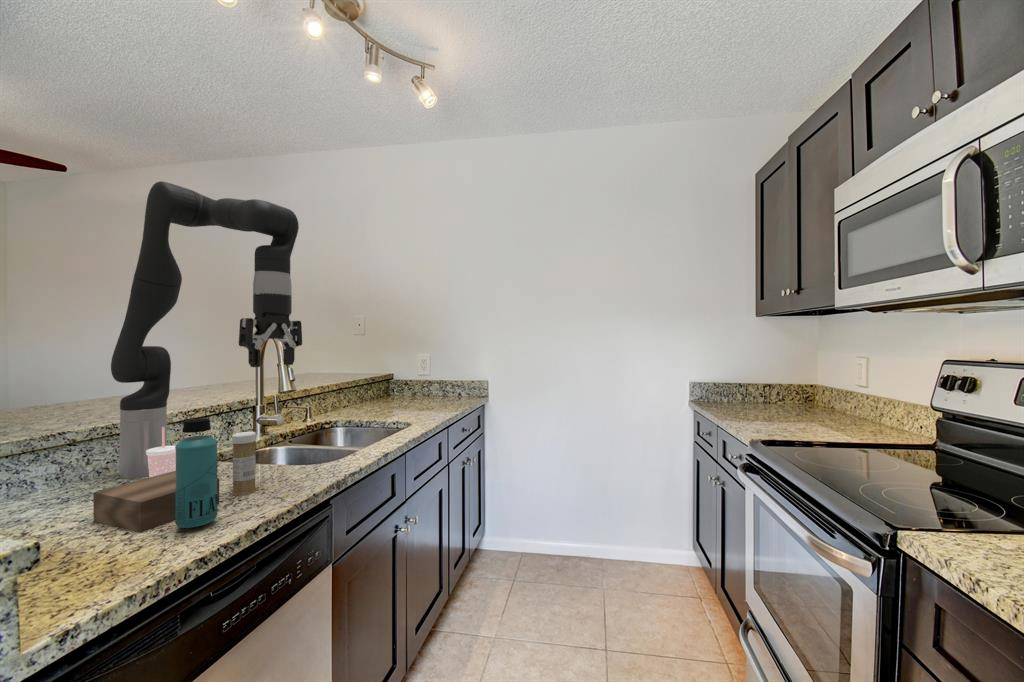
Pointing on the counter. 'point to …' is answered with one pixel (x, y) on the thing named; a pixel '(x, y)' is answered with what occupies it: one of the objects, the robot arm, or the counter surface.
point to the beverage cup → (161, 458)
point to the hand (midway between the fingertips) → (272, 365)
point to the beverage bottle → (196, 476)
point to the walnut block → (138, 503)
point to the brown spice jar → (244, 463)
